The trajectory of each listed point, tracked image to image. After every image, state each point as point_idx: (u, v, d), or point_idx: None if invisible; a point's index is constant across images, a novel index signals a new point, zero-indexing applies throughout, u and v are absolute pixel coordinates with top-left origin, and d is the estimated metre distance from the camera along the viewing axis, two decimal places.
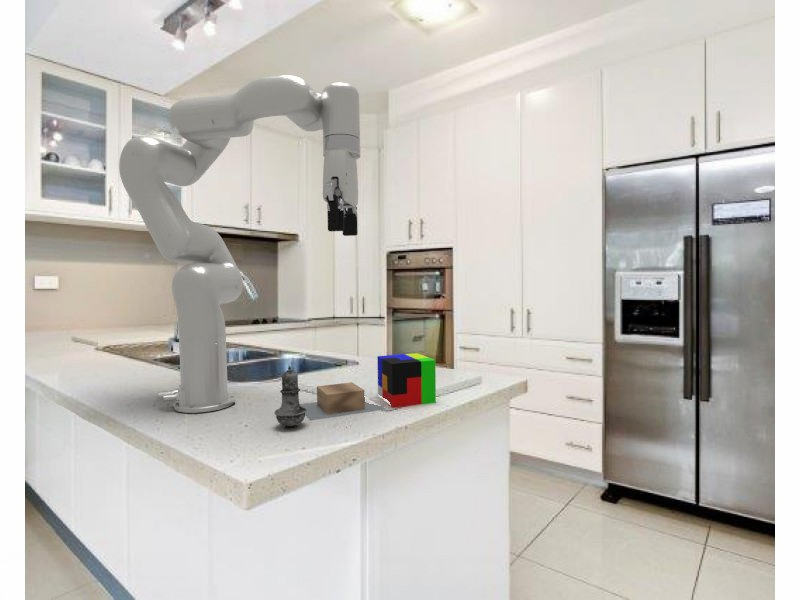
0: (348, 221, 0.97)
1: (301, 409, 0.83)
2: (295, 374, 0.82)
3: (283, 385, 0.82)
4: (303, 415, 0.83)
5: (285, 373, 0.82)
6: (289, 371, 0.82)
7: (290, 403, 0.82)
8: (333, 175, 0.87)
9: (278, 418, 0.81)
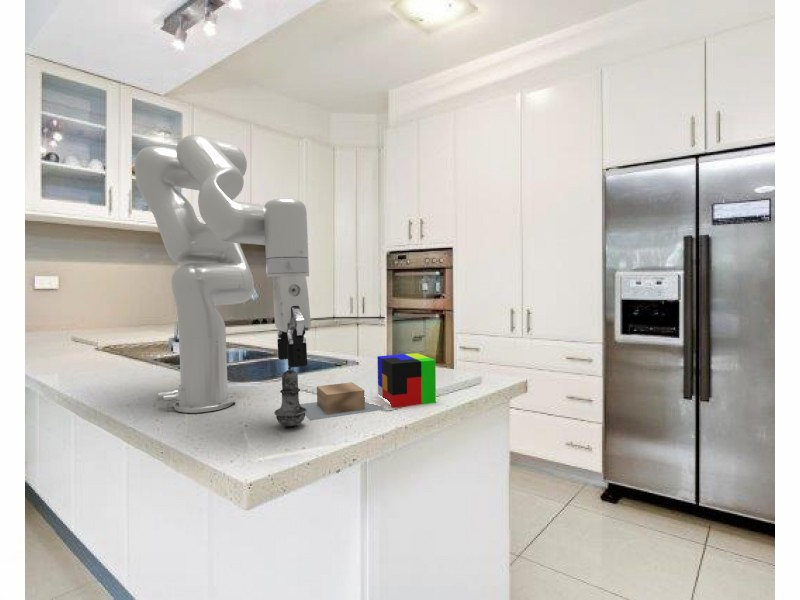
0: None
1: (301, 409, 0.83)
2: (295, 374, 0.82)
3: (283, 385, 0.82)
4: (303, 415, 0.83)
5: (285, 373, 0.82)
6: (289, 371, 0.82)
7: (290, 403, 0.82)
8: None
9: (278, 418, 0.81)
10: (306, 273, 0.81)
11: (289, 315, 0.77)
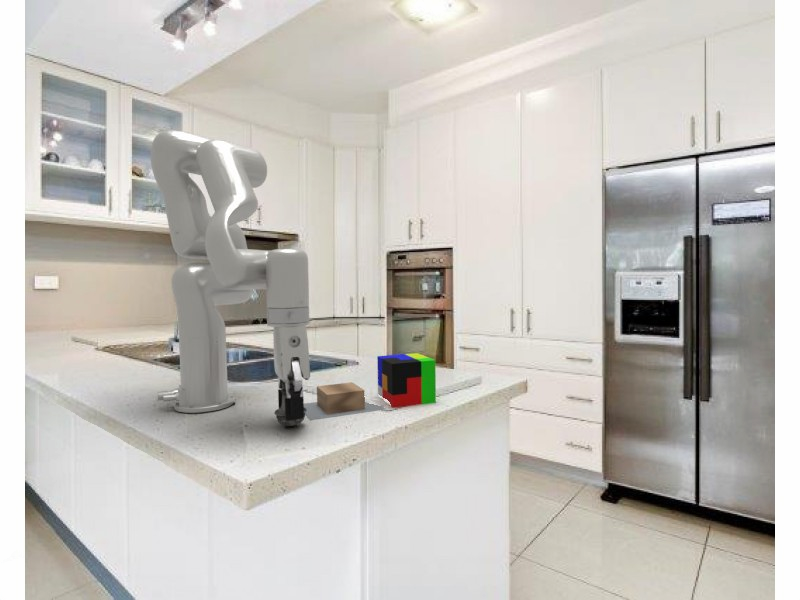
0: None
1: None
2: None
3: (283, 385, 0.82)
4: None
5: None
6: None
7: None
8: None
9: (278, 418, 0.81)
10: (306, 322, 0.81)
11: (289, 366, 0.78)
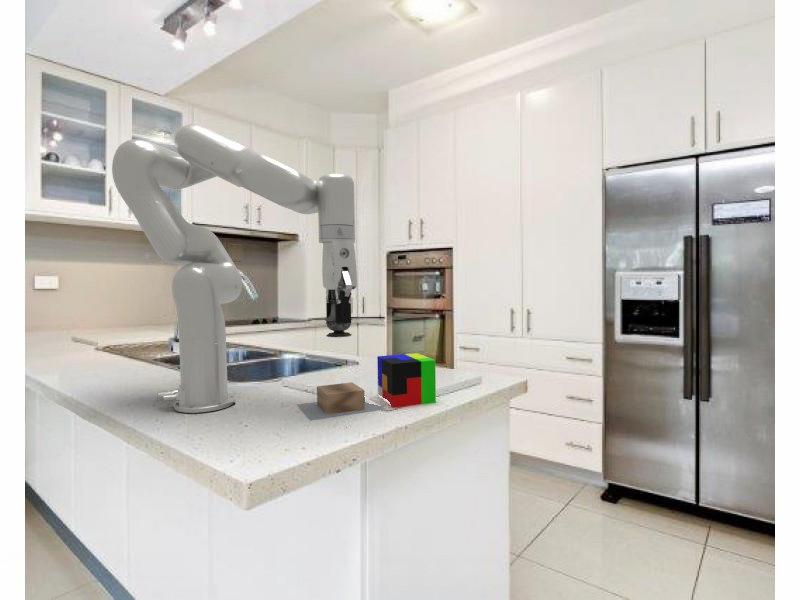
0: None
1: None
2: None
3: (333, 295, 0.93)
4: None
5: None
6: None
7: None
8: None
9: (328, 323, 0.93)
10: (353, 239, 0.93)
11: (340, 274, 0.89)
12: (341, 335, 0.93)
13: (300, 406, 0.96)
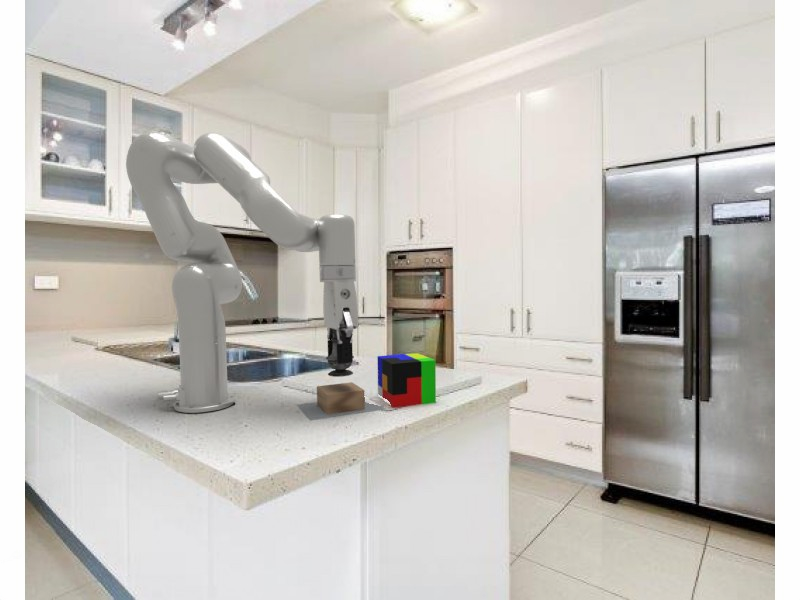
0: None
1: None
2: None
3: (334, 334, 0.94)
4: None
5: None
6: None
7: None
8: None
9: (330, 362, 0.93)
10: (354, 279, 0.93)
11: (341, 315, 0.90)
12: (343, 374, 0.93)
13: (300, 406, 0.96)
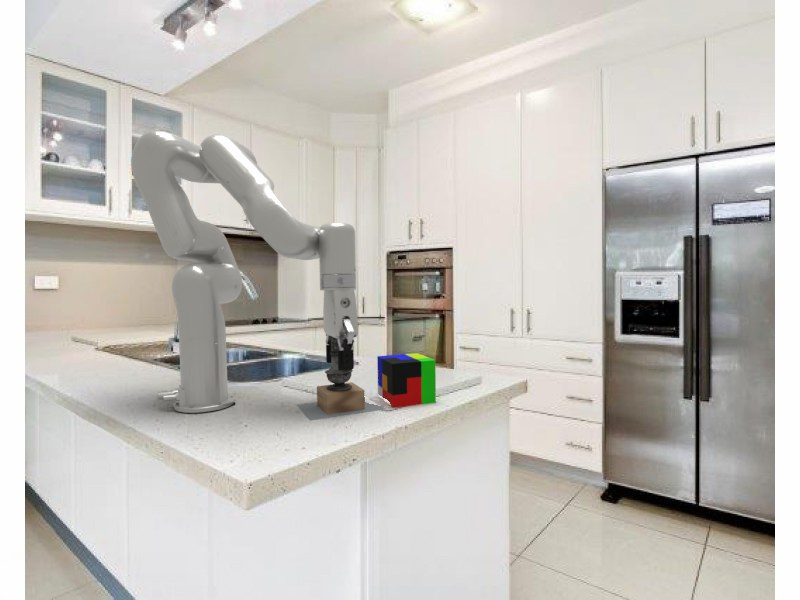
0: None
1: None
2: None
3: (332, 348, 0.94)
4: (350, 374, 0.95)
5: None
6: None
7: None
8: None
9: (329, 376, 0.93)
10: (354, 287, 0.93)
11: (341, 324, 0.90)
12: (341, 388, 0.93)
13: (300, 406, 0.96)
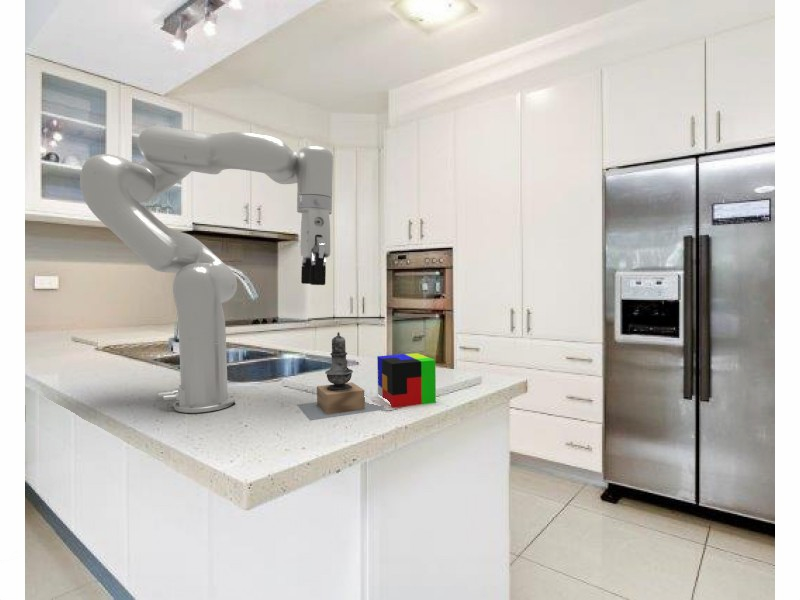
0: None
1: (348, 370, 0.95)
2: (343, 339, 0.94)
3: (333, 348, 0.94)
4: (350, 375, 0.95)
5: (335, 338, 0.94)
6: (338, 337, 0.94)
7: (339, 364, 0.94)
8: None
9: (329, 377, 0.93)
10: (329, 210, 0.97)
11: (313, 241, 0.94)
12: (341, 389, 0.93)
13: (300, 406, 0.96)
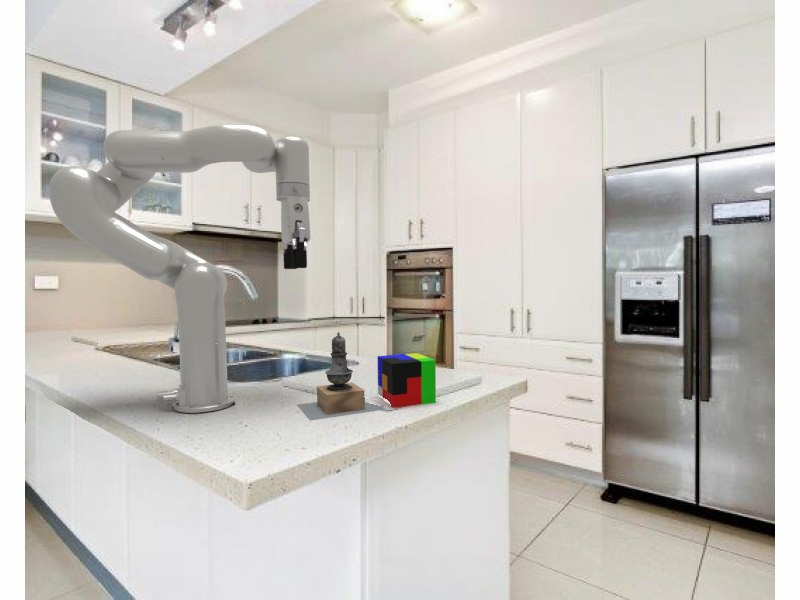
0: None
1: (348, 370, 0.95)
2: (343, 339, 0.94)
3: (333, 348, 0.94)
4: (350, 375, 0.95)
5: (335, 338, 0.94)
6: (338, 337, 0.94)
7: (339, 364, 0.94)
8: None
9: (329, 377, 0.93)
10: (307, 197, 1.02)
11: (293, 227, 0.99)
12: (341, 389, 0.93)
13: (300, 406, 0.96)
